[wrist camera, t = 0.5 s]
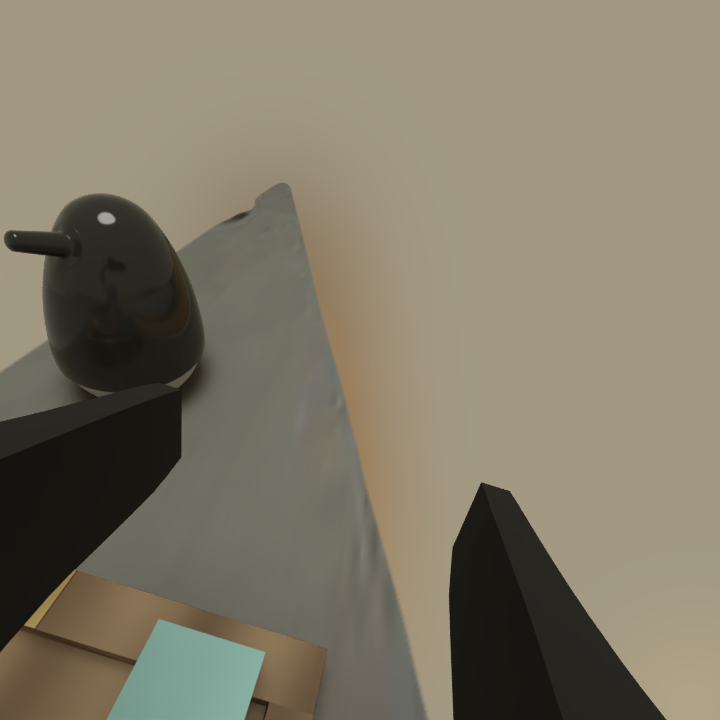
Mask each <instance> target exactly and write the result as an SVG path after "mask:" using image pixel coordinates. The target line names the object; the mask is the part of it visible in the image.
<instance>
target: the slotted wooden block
mask: <svg viewBox="0 0 720 720" xmlns="http://www.w3.org/2000/svg"><path fill="white" fill-rule="evenodd" d="M159 619H161V620H164V621H167V622H170V623H173V624H177V625H180V626H183V627H186V628H189V629H193V630H196V631H199V632H202V633H206V634H209V635H212V636H215V637H218V638H222V639H225V640H228V641H231V642H234V643H238V644H241V645H244V646H247V647H251V648H254V649H257V650H260V651H263V652H266V653H265V656H264V659H263V663H262V666H261V669H260V672H259V676H258V679H257V682H256V685H255V688H254V691H253V695H252V698H251V701H250V704H249V707H248V710H247V714H246V717H245V720H312V719H313V715H314V710H315V706H316V701H317V696H318V692H319V687H320V682H321V678H322V673H323V668H324V664H325V659H326V655H327V650H328V649H326V648H323V647H320V646H317V645H314V644H310V643H307V642H304V641H301V640H298V639H294V638H291V637H288V636H285V635H281V634H278V633H275V632H272V631H269V630H265V629H262V628H259V627H256V626H253V625H249V624H246V623H243V622H240V621H237V620H233V619H230V618H227V617H224V616H220V615H217V614H214V613H211V612H208V611H204V610H201V609H198V608H195V607H192V606H188V605H185V604H182V603H179V602H175V601H172V600H169V599H166V598H163V597H159V596H156V595H153V594H150V593H147V592H143V591H140V590H137V589H134V588H130V587H127V586H124V585H121V584H118V583H114V582H111V581H108V580H105V579H102V578H98V577H95V576H92V575H89V574H86V573H82V572H79V571H77V570H74V571H73V572H72V573H71V574H70V575H69V576H68V577H67V578H66V579H65V580H64V581H63V582H62V583H61V584H60V585H59V586H58V588H57V589H56V590H55V591H54V592H53V593H52V594H51V595H50V596H49V597H48V598H47V599H46V600H45V601H44V603H43V604H42V605H41V606H40V607H39V608H38V610H37V611H36V612H35V613H34V614H33V615H32V616H31V618H30V619H29V620H28V621H27V622H26V623H25V624H24V626H23V627H22V628H21V629H20V630H19V631H18V633H17V634H16V635H15V636H14V637H13V638H12V639H11V641H10V642H9V643H8V644H7V645H6V646H5V647H4V649H3V650H2V651H1V652H0V720H107V718H108V716H109V714H110V712H111V710H112V708H113V706H114V704H115V702H116V700H117V698H118V697H119V695H120V693H121V691H122V689H123V687H124V685H125V683H126V681H127V679H128V677H129V675H130V673H131V672H132V670H133V668H134V666H135V664H136V662H137V660H138V658H139V656H140V654H141V652H142V650H143V648H144V647H145V645H146V643H147V641H148V639H149V637H150V635H151V633H152V631H153V629H154V627H155V625H156V623H157V622H158V620H159Z"/></svg>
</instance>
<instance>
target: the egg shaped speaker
mask: <svg viewBox="0 0 720 720" xmlns="http://www.w3.org/2000/svg"><path fill="white" fill-rule="evenodd" d="M4 242H5V245H6V246H7V247H8V248H9V249H10V250H11V251H15V252H21V253H29V254H38V255H45V261H44V270H43V287H42V288H43V289H42V291H43V294H42V296H43V312H44V319H45V326H46V330H47V336H48V341H49V345H50V349H51V352H52V355H53V357H54V360H55V362H56V364H57V366H58V368H59V369H60V370H61V372H62V373H63V374H64V375H65V376H66V377H67V378H69V379H70V380H72V381H73V382H75V383H77V384H78V385H80V386H81V387H82V388H83V389H85V390H86V391H88V392H89V393H91V394H93V395H95V396H97V397H100V396H104V395H108V394H112V393H116V392H119V391H123V390H127V389H131V388H135V387H139V386H144V385H148V384H154V383H162V384H165V385H168V386H172V387H175V388H178V387H180V386H181V385H182V384H183V383H184V382H185V381H186V380H187V379H188V378H189V377H190V375H191V374H192V372H193V371H194V369H195V367H196V365H197V362H198V361H199V359H200V358H201V356H202V353H203V351H204V346H205V335H204V327H203V322H202V318H201V314H200V310H199V306H198V303H197V299H196V296H195V293H194V290H193V288H192V285H191V283H190V280H189V278H188V275H187V273H186V271H185V269H184V267H183V265H182V263H181V261H180V259H179V257H178V255H177V254H176V252H175V250H174V248H173V247H172V245H171V244H170V242H169V240H168V239H167V237H166V236H165V234H164V233H163V231H162V230H161V229H160V227H159V226H158V225H157V223H156V222H155V221H154V220H153V219H152V218H151V217H150V216H149V214H148V213H147V212H146V211H144V210H143V209H142V208H141V207H140V206H138V205H137V204H135V203H133V202H132V201H130V200H127V199H125V198H123V197H120V196H116V195H112V194H105V193H95V194H88V195H84V196H81V197H78V198H76V199H74V200H73V201H71V202H69V203H68V204H67V205H66V206H65V207H64V208H63V209H62V211H61V212H60V214H59V215H58V218H57V219H56V221H55V223H54V225H53V228H52V230H51V232H44V231H14V230H10V231H7V232H6V233H5V235H4Z"/></svg>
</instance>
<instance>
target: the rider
mask: <svg viewBox="0 0 720 720" xmlns="http://www.w3.org/2000/svg"><path fill="white" fill-rule="evenodd" d="M265 653H266V652H263V651H260V650H257V649H254V648H251V647H247V646H244V645H241V644H238V643H234V642H231V641H228V640H225V639H222V638H218V637H215V636H212V635H209V634H206V633H202V632H199V631H196V630H193V629H189V628H186V627H183V626H180V625H177V624H173V623H170V622H167V621H164V620H161V619H159V620H158V622H157V623H156V625H155V627H154V629H153V631H152V633H151V635H150V637H149V639H148V641H147V643H146V645H145V647H144V648H143V650H142V652H141V654H140V656H139V658H138V660H137V662H136V664H135V666H134V668H133V670H132V672H131V673H130V675H129V677H128V679H127V681H126V683H125V685H124V687H123V689H122V691H121V693H120V695H119V697H118V698H117V700H116V702H115V704H114V706H113V708H112V710H111V712H110V714H109V716H108V718H107V720H245V717H246V714H247V710H248V707H249V704H250V701H251V698H252V695H253V691H254V688H255V685H256V682H257V679H258V676H259V672H260V669H261V666H262V663H263V659H264V656H265Z"/></svg>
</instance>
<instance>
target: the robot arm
mask: <svg viewBox="0 0 720 720" xmlns="http://www.w3.org/2000/svg"><path fill="white" fill-rule="evenodd" d="M180 458H181V389H178V388H175V387H172V386H168V385H165V384H162V383H154V384H148V385H144V386H139V387H135V388H131V389H127V390H123V391H119V392H116V393H112V394H108V395H104V396H100V397H97V398H93V399H89V400H85V401H82V402H78V403H74V404H70V405H67V406H63V407H59V408H55V409H52V410H48V411H44V412H40V413H35V414H31V415H27V416H23V417H19V418H15V419H10V420H6V421H2V422H0V652H1V651H2V650H3V649H4V647H5V646H6V645H7V644H8V643H9V642H10V641H11V639H12V638H13V637H14V636H15V635H16V634H17V633H18V631H19V630H20V629H21V628H22V627H23V626H24V624H25V623H26V622H27V621H28V620H29V619H30V618H31V616H32V615H33V614H34V613H35V612H36V611H37V610H38V608H39V607H40V606H41V605H42V604H43V603H44V601H45V600H46V599H47V598H48V597H49V596H50V595H51V594H52V593H53V592H54V591H55V590H56V589H57V588H58V586H59V585H60V584H61V583H62V582H63V581H64V580H65V579H66V578H67V577H68V576H69V575H70V574H71V573H72V572H73V571H74V570H75V569H76V568H77V567H78V566H79V565H80V564H81V563H82V562H83V561H84V560H85V559H86V558H87V557H88V556H89V555H90V554H91V553H92V552H94V551H95V550H96V549H97V548H98V547H99V546H100V545H101V544H102V543H103V542H104V541H105V540H106V539H107V538H108V537H109V536H110V535H111V534H112V533H113V532H114V531H115V530H116V529H117V528H118V527H119V526H120V525H121V524H122V523H123V522H124V521H125V520H126V519H127V518H128V517H129V516H130V515H131V514H132V513H133V512H134V511H135V510H136V509H137V508H138V507H139V506H140V505H141V504H142V503H143V502H144V501H145V500H146V499H147V498H148V497H149V496H150V495H151V494H152V493H153V492H154V491H155V490H156V488H157V487H158V486H159V485H160V484H161V482H162V481H163V480H164V479H165V478H166V476H167V475H168V474H169V472H170V471H171V470H172V468H173V467H174V466H175V465H176V463H177V462H178V461H179V459H180ZM449 611H450V639H451V665H452V666H451V667H452V691H453V692H452V693H453V717H454V718H453V719H454V720H666V719H665V718H664V716H663V715H662V714H661V712H660V711H659V710H658V709H657V707H656V706H655V705H654V704H653V702H652V701H651V700H650V698H649V697H648V696H647V695H646V693H645V692H644V691H643V690H642V689H641V687H640V686H639V684H638V683H637V682H636V680H635V679H634V678H633V676H632V675H631V674H630V672H629V671H628V670H627V668H626V667H625V666H624V664H623V663H622V662H621V660H620V659H619V657H618V656H617V655H616V653H615V652H614V651H613V649H612V648H611V646H610V645H609V643H608V642H607V641H606V639H605V638H604V636H603V635H602V633H601V632H600V631H599V629H598V628H597V627H596V625H595V624H594V622H593V621H592V619H591V618H590V617H589V615H588V614H587V612H586V611H585V609H584V608H583V606H582V605H581V603H580V602H579V600H578V599H577V597H576V596H575V595H574V593H573V591H572V590H571V588H570V587H569V585H568V584H567V582H566V581H565V579H564V578H563V576H562V574H561V573H560V572H559V570H558V568H557V567H556V565H555V564H554V562H553V560H552V559H551V557H550V556H549V554H548V553H547V551H546V549H545V548H544V546H543V544H542V543H541V541H540V540H539V538H538V536H537V535H536V533H535V531H534V530H533V528H532V527H531V525H530V523H529V522H528V520H527V518H526V517H525V515H524V513H523V512H522V510H521V508H520V507H519V505H518V503H517V502H516V500H515V499H514V497H513V496H512V494H511V493H510V491H507V490H504V489H501V488H498V487H494V486H491V485H488V484H485V483H481V484H480V487H479V489H478V491H477V493H476V496H475V498H474V500H473V502H472V505H471V507H470V510H469V512H468V514H467V516H466V518H465V521H464V523H463V525H462V527H461V530H460V532H459V534H458V536H457V539H456V541H455V543H454V546H453V550H452V562H451V575H450V588H449Z"/></svg>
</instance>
